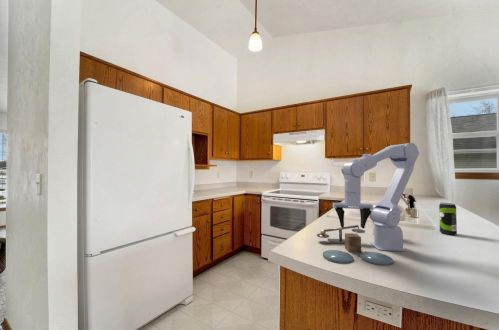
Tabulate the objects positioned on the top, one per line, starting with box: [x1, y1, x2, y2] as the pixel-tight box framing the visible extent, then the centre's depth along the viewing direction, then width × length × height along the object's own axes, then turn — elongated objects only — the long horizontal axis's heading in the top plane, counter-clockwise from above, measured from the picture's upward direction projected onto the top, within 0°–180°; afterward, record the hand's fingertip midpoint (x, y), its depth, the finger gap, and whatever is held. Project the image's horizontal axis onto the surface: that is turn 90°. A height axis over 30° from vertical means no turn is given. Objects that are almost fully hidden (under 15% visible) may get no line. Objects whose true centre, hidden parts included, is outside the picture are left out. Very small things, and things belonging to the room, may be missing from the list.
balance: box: [316, 224, 366, 245], centre depth 94 cm, size 20×5×8 cm, turn 83°
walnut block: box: [344, 232, 362, 254], centre depth 85 cm, size 4×4×6 cm
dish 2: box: [359, 251, 394, 266], centre depth 76 cm, size 10×10×1 cm
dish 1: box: [322, 249, 354, 264], centre depth 78 cm, size 10×10×1 cm
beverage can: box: [438, 202, 458, 236], centre depth 108 cm, size 6×6×15 cm
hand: (352, 227), depth 85 cm, fingers open, 7 cm apart
